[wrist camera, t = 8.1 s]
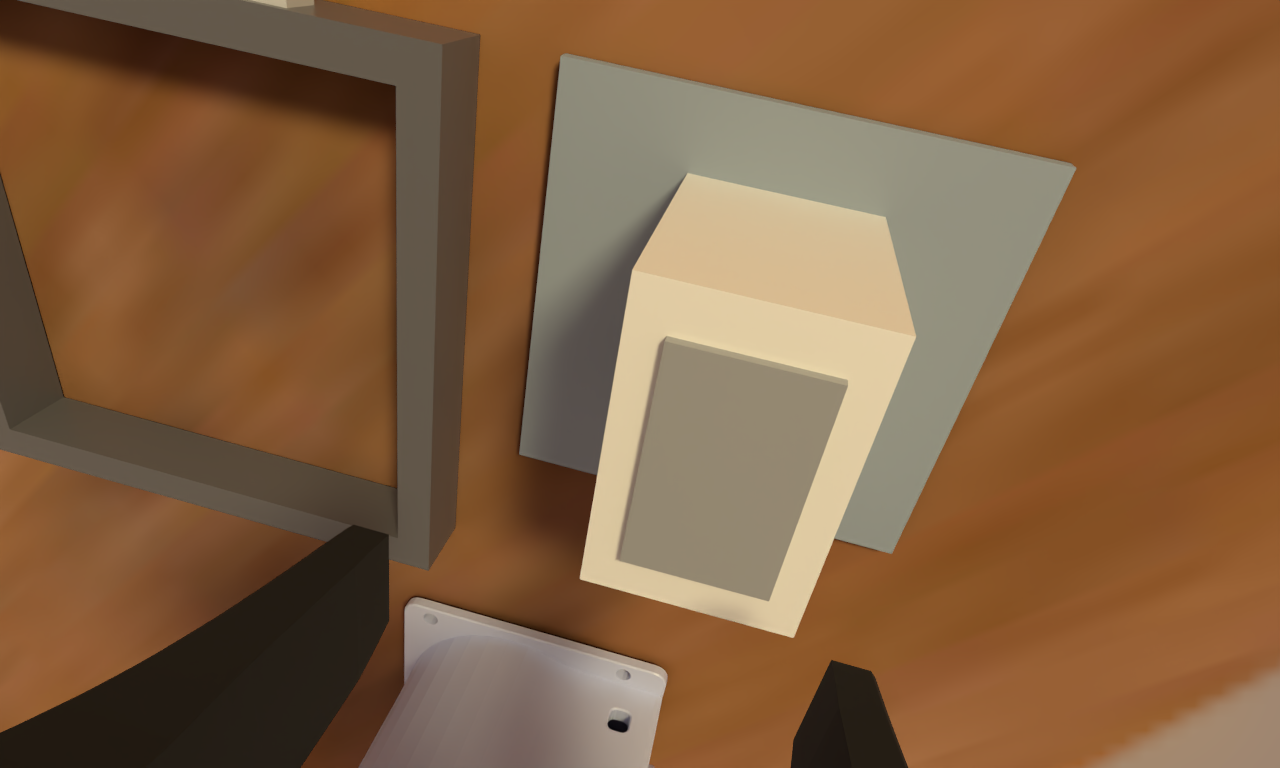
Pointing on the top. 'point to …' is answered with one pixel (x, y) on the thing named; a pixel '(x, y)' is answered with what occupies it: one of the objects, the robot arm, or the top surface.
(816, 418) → the block
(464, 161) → the frame
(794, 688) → the top surface
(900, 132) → the slate mat
